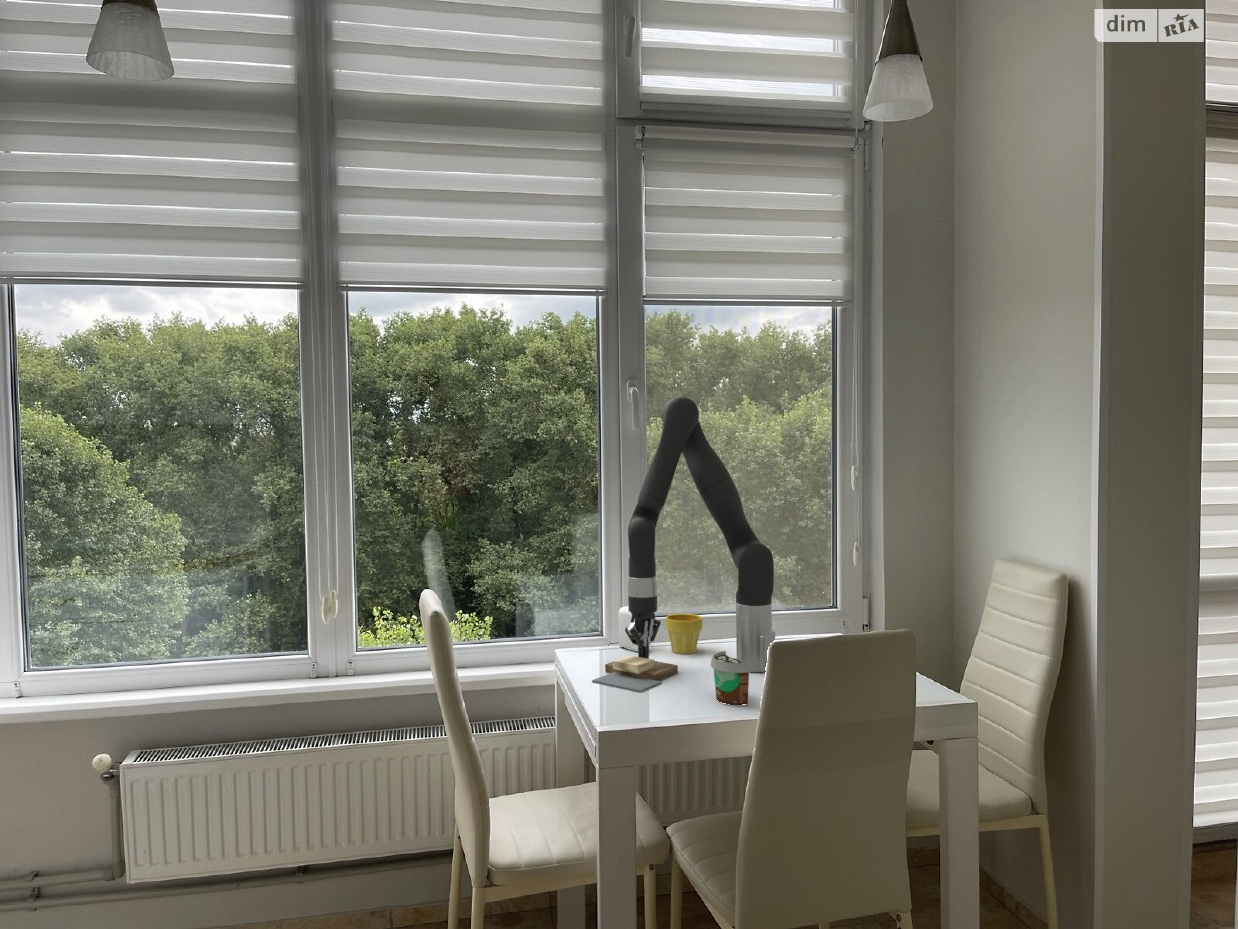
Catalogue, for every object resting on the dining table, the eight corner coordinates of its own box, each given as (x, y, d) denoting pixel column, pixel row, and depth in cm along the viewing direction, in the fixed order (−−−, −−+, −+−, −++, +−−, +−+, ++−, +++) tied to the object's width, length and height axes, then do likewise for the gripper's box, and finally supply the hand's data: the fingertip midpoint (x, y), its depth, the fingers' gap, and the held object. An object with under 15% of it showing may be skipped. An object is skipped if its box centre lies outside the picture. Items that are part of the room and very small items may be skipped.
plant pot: (701, 646, 248) (701, 613, 247) (703, 655, 238) (703, 620, 237) (665, 646, 248) (665, 613, 248) (666, 656, 238) (665, 621, 238)
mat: (661, 683, 212) (661, 681, 212) (640, 692, 205) (640, 690, 205) (613, 674, 221) (613, 672, 221) (592, 682, 214) (592, 680, 214)
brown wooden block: (677, 672, 221) (677, 665, 221) (655, 682, 213) (655, 674, 213) (628, 663, 231) (628, 656, 231) (605, 672, 223) (605, 664, 223)
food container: (701, 695, 202) (701, 653, 202) (725, 692, 204) (724, 650, 204) (726, 710, 191) (726, 666, 190) (751, 707, 193) (750, 663, 192)
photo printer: (616, 647, 249) (615, 605, 248) (627, 644, 252) (627, 602, 251) (639, 654, 241) (639, 610, 240) (651, 651, 244) (650, 608, 243)
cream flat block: (654, 667, 219) (654, 659, 219) (638, 673, 214) (638, 665, 214) (629, 662, 224) (629, 655, 224) (613, 668, 219) (612, 661, 219)
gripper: (638, 599, 215) (640, 667, 216) (669, 591, 225) (670, 656, 226) (615, 596, 220) (616, 663, 220) (646, 588, 230) (647, 652, 231)
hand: (643, 659), depth 223 cm, fingers closed
